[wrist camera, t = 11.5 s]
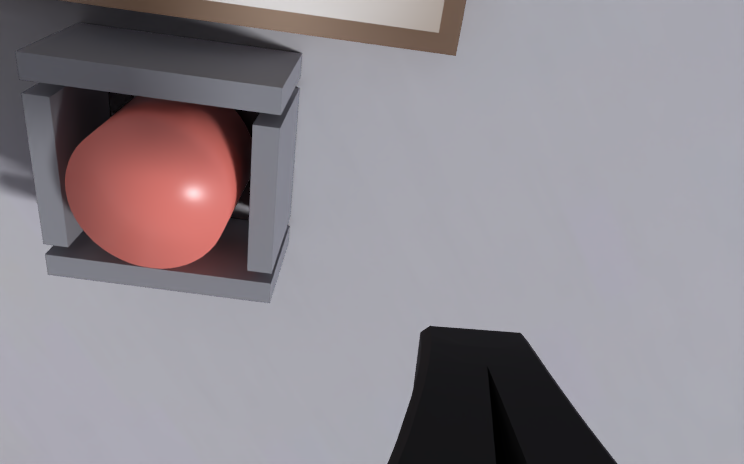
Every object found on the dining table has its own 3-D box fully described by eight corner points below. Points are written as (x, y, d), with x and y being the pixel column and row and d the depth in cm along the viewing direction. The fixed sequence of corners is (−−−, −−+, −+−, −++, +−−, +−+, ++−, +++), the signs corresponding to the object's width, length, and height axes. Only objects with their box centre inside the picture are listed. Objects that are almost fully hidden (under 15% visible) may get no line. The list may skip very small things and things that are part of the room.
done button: (256, 93, 16) (228, 135, 13) (251, 218, 18) (225, 277, 15) (113, 73, 16) (56, 112, 13) (122, 201, 18) (73, 258, 15)
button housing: (302, 53, 16) (282, 88, 13) (288, 243, 19) (269, 303, 16) (79, 22, 16) (14, 51, 13) (97, 218, 19) (48, 274, 16)
